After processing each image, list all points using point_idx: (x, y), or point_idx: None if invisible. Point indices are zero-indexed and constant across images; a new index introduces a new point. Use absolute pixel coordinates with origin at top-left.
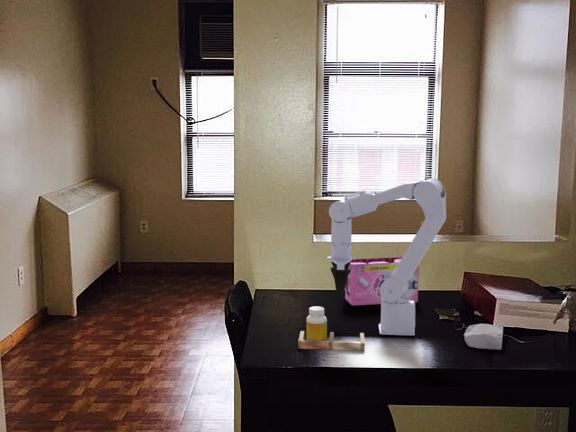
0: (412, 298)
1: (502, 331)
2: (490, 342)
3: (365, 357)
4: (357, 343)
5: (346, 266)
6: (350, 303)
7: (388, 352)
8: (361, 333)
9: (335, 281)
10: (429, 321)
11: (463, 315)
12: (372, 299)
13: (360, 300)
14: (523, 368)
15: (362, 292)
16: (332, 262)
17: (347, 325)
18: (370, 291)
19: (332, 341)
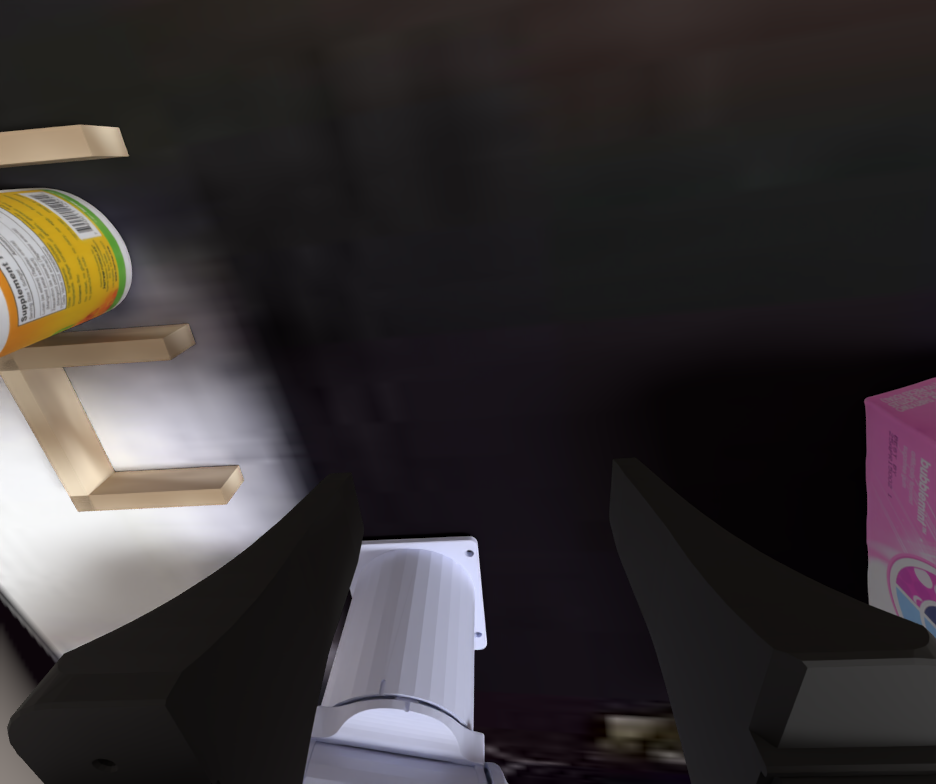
0: None
1: None
2: None
3: (32, 493)
4: (64, 482)
5: (696, 760)
6: (900, 390)
7: (141, 566)
8: (214, 494)
9: (248, 555)
10: (570, 690)
11: (654, 771)
12: (887, 523)
13: (886, 461)
14: None
15: (930, 506)
16: (792, 673)
17: (455, 396)
18: (931, 552)
19: (10, 366)
